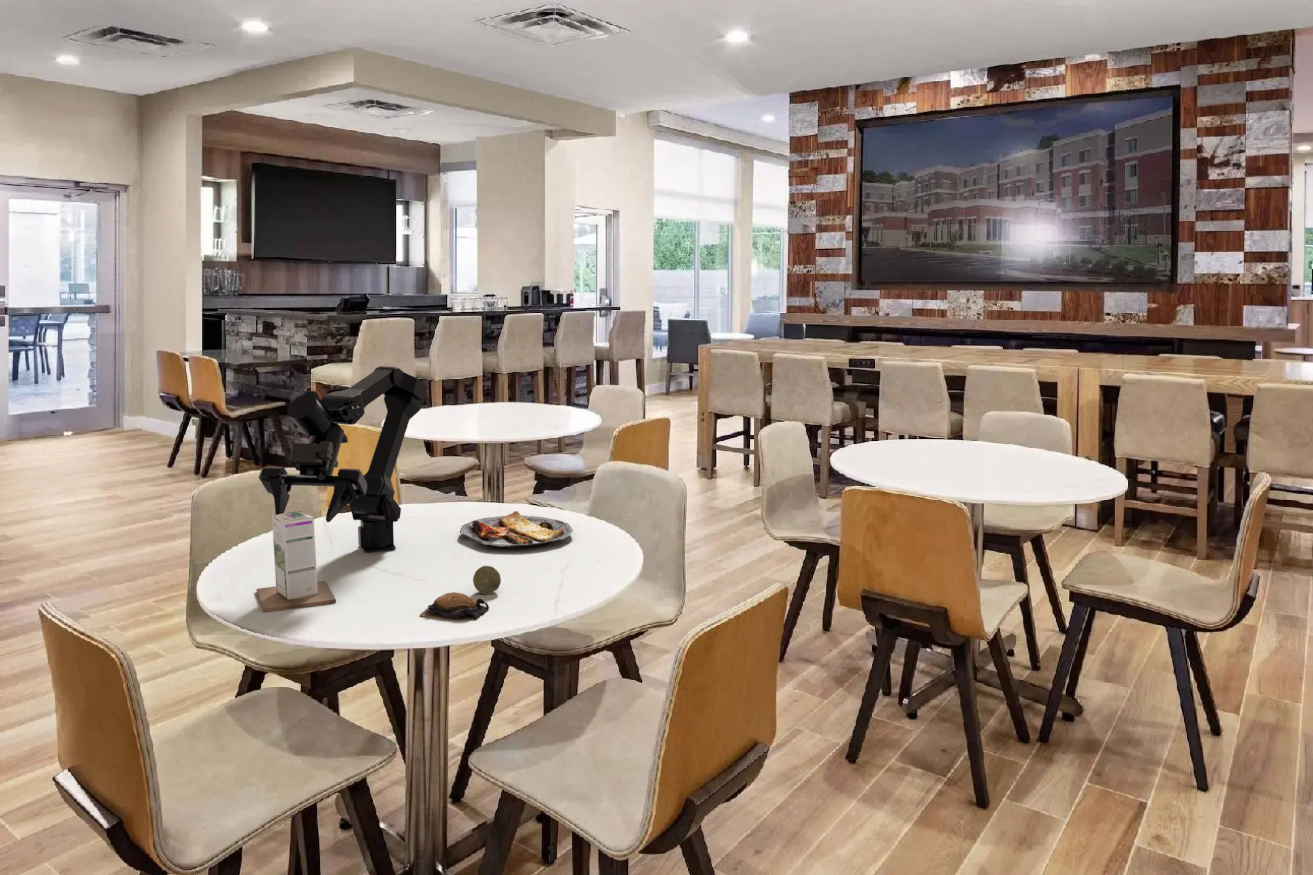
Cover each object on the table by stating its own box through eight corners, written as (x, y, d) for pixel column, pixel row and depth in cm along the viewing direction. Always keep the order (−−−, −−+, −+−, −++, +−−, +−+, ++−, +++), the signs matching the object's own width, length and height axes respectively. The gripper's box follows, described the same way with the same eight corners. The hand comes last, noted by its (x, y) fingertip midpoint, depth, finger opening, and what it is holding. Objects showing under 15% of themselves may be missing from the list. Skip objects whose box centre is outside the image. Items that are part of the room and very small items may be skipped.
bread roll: (416, 621, 168) (416, 600, 167) (436, 605, 176) (435, 585, 176) (476, 625, 166) (475, 604, 166) (492, 609, 174) (492, 589, 174)
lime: (504, 591, 182) (504, 565, 181) (484, 598, 179) (483, 571, 178) (488, 586, 185) (488, 561, 184) (468, 592, 181) (468, 566, 181)
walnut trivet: (325, 583, 185) (324, 580, 185) (335, 602, 174) (335, 599, 174) (256, 591, 180) (256, 588, 179) (263, 612, 169) (263, 608, 169)
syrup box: (319, 594, 177) (316, 515, 175) (286, 601, 173) (282, 520, 171) (306, 586, 181) (303, 509, 179) (274, 592, 177) (270, 514, 175)
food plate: (442, 532, 223) (442, 517, 222) (529, 518, 238) (529, 504, 237) (500, 560, 204) (501, 544, 203) (591, 544, 219) (591, 528, 218)
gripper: (260, 424, 182) (235, 495, 173) (359, 426, 181) (340, 498, 172) (280, 457, 191) (258, 527, 182) (375, 460, 190) (357, 530, 181)
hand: (302, 520), depth 179 cm, fingers open, 9 cm apart
